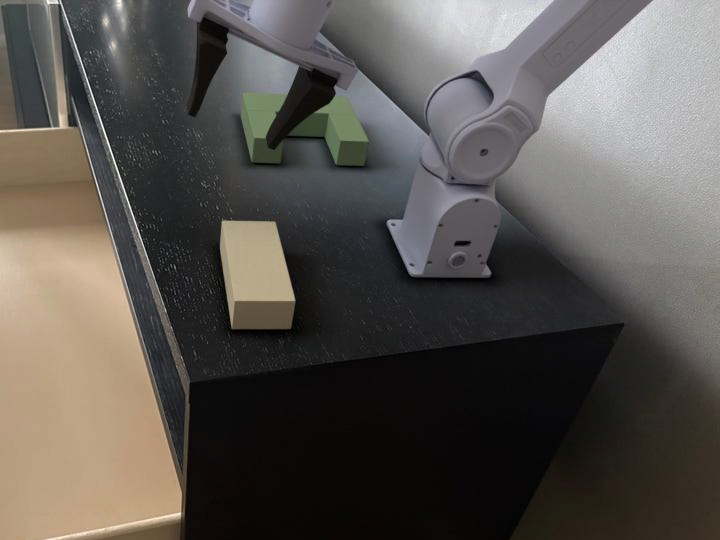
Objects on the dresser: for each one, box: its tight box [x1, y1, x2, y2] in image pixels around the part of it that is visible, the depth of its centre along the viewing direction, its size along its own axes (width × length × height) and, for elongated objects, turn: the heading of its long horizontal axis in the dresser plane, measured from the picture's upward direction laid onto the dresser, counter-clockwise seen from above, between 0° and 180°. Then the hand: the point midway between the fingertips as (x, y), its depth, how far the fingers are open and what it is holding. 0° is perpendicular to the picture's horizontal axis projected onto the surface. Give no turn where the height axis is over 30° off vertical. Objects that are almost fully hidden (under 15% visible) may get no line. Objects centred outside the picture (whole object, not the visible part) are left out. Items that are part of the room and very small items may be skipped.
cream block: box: [219, 220, 296, 330], centre depth 66 cm, size 12×5×3 cm, turn 6°
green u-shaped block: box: [240, 92, 370, 167], centre depth 89 cm, size 12×13×3 cm
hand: (231, 127), depth 66 cm, fingers open, 7 cm apart
